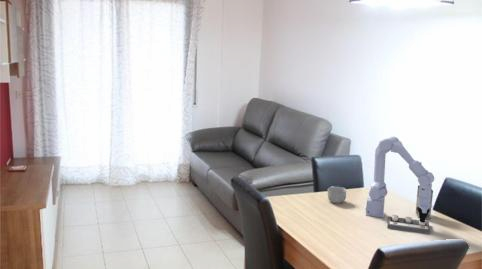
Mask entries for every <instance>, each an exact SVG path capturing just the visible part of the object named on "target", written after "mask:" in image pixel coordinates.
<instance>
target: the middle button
mask: <svg viewBox="0 0 482 269" xmlns="http://www.w3.org/2000/svg"><path fill="white" fill-rule="evenodd" d="M412 219H413V218H412V217H411V216H405V222H406V223H411V222H412Z"/></svg>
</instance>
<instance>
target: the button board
mask: <svg viewBox="0 0 482 269" xmlns="http://www.w3.org/2000/svg"><path fill="white" fill-rule="evenodd" d="M405 219H406V217H405V218H404V217H398V221H397V222H395V221H392V216H387V229H390V230H399V231H404V232H405V231H406V232H412V233H421V234H426V235H427V234H428V235H430V234H431V225H430V222H429V220H428V221H427V220H425V226H422V225H419V221H420V219H419V220H418V219H413V218H412V222H411V223H406V222H405Z"/></svg>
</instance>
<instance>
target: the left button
mask: <svg viewBox="0 0 482 269" xmlns="http://www.w3.org/2000/svg"><path fill="white" fill-rule="evenodd" d="M391 217H392V221H395V222H397V221H398V218H399V215H397V214H392V216H391Z"/></svg>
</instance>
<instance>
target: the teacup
mask: <svg viewBox="0 0 482 269" xmlns="http://www.w3.org/2000/svg"><path fill="white" fill-rule="evenodd" d="M346 197H347V189H346V188H345V187H341V186H334V185H332V186H330V187H328V188H327V198H328V199H327V200H329V201H330V202H331V203H332V204H335V203H336V204H337V205H338V204H343V203H344V202H345V201H346Z"/></svg>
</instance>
